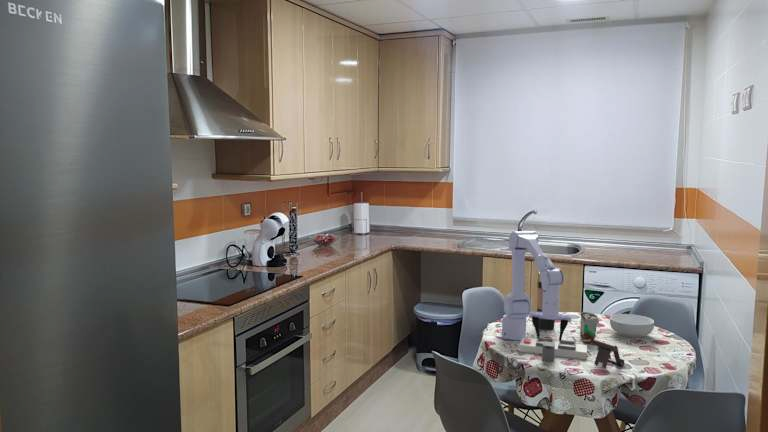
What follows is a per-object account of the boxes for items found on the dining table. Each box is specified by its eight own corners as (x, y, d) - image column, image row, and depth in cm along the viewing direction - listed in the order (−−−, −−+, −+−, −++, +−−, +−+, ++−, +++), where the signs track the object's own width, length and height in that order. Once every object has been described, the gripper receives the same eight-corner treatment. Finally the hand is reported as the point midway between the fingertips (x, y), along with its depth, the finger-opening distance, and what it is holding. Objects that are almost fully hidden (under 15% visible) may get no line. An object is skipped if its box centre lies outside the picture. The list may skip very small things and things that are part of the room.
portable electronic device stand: (624, 366, 210) (626, 343, 209) (610, 370, 206) (611, 347, 205) (603, 358, 217) (604, 336, 217) (589, 362, 213) (590, 340, 212)
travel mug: (556, 330, 250) (558, 284, 248) (538, 330, 250) (540, 283, 248) (551, 325, 258) (553, 280, 256) (534, 325, 258) (536, 279, 256)
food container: (600, 345, 232) (601, 320, 231) (583, 344, 233) (584, 319, 232) (595, 336, 244) (596, 312, 243) (579, 335, 245) (580, 311, 244)
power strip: (519, 351, 224) (519, 341, 224) (521, 344, 233) (522, 334, 232) (586, 359, 216) (586, 349, 216) (586, 351, 225) (587, 341, 224)
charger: (542, 361, 214) (542, 345, 213) (543, 356, 218) (543, 341, 218) (553, 363, 212) (554, 346, 212) (554, 358, 217) (555, 342, 216)
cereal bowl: (633, 328, 255) (634, 312, 255) (662, 339, 240) (663, 322, 239) (600, 331, 250) (601, 315, 249) (628, 343, 234) (629, 326, 234)
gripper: (528, 303, 212) (527, 340, 213) (571, 307, 207) (569, 344, 208) (530, 298, 218) (529, 334, 220) (572, 302, 214) (570, 338, 215)
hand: (549, 339), depth 215 cm, fingers open, 7 cm apart
